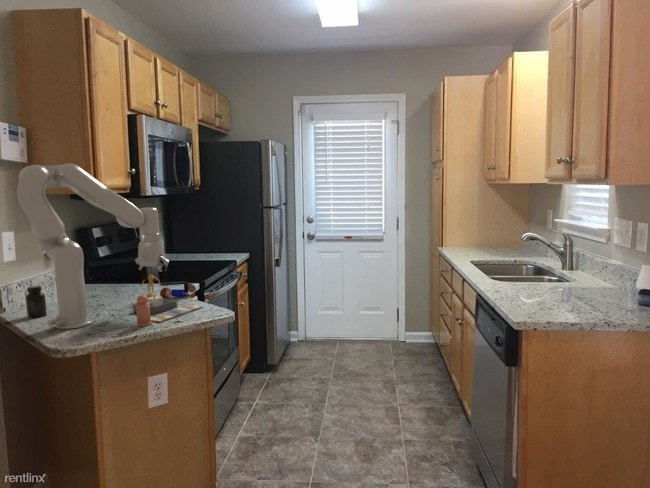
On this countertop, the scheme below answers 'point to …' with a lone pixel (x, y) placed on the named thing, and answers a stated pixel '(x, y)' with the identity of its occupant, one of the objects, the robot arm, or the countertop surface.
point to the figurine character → (167, 292)
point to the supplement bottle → (35, 302)
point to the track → (174, 313)
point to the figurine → (151, 285)
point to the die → (155, 301)
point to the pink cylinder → (143, 311)
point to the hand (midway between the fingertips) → (153, 280)
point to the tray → (161, 306)
